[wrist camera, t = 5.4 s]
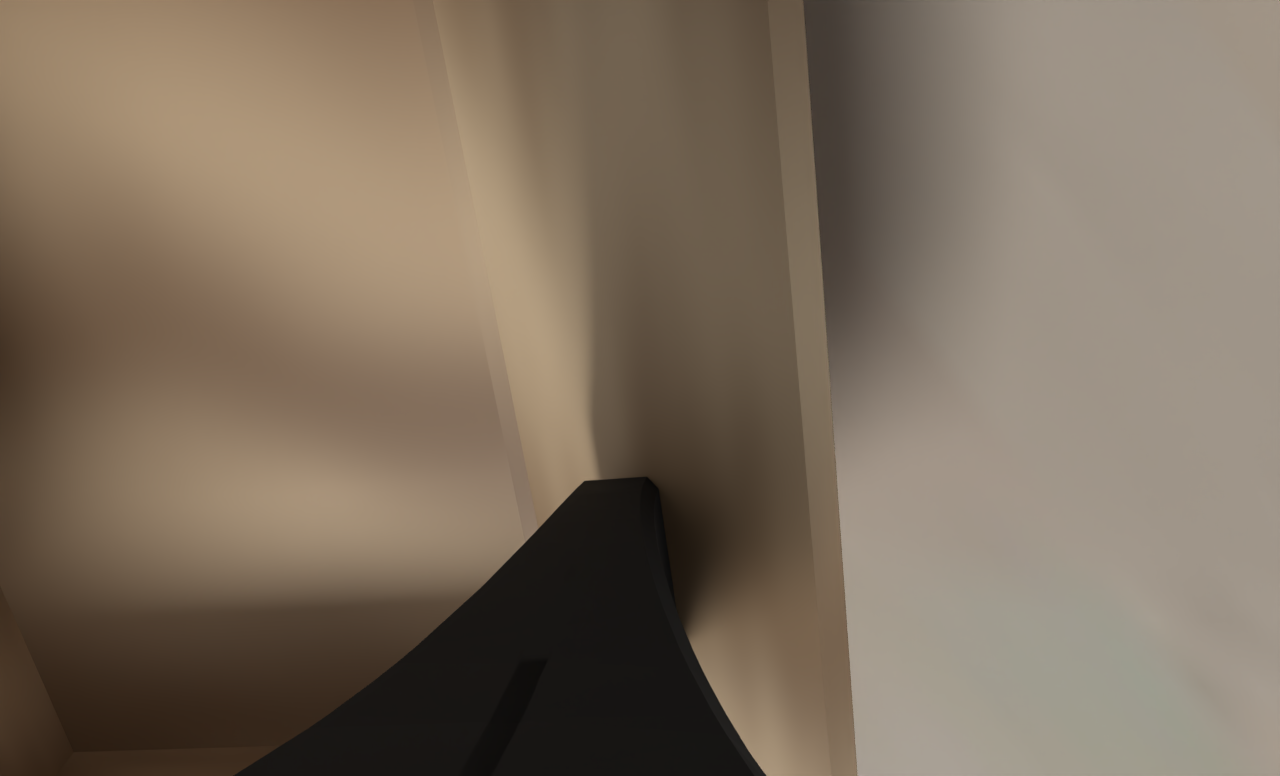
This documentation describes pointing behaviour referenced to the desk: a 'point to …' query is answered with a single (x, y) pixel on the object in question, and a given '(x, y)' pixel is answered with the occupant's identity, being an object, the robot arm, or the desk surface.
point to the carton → (234, 375)
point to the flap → (674, 316)
